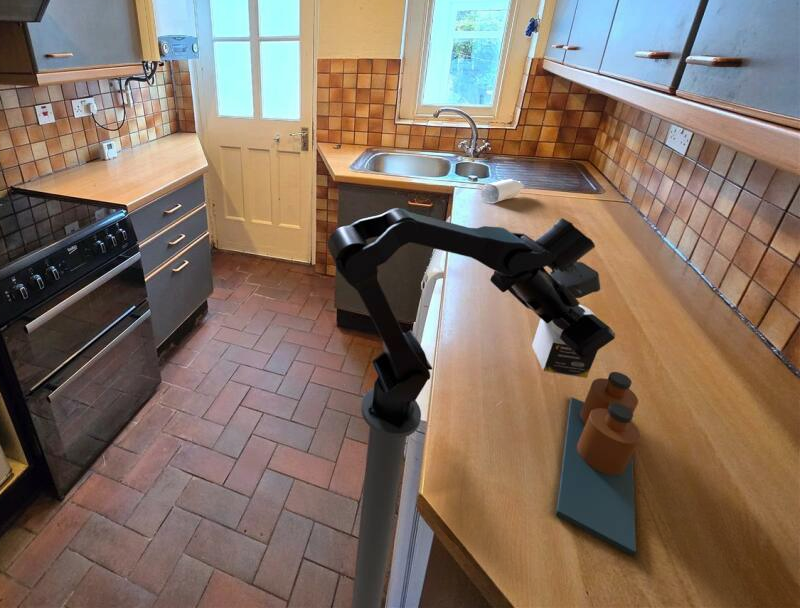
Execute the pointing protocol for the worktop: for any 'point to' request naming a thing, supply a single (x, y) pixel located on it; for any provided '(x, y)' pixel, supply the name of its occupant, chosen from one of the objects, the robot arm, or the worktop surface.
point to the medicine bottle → (560, 348)
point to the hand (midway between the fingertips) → (576, 333)
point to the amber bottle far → (609, 394)
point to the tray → (595, 492)
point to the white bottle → (501, 190)
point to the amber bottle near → (609, 439)
